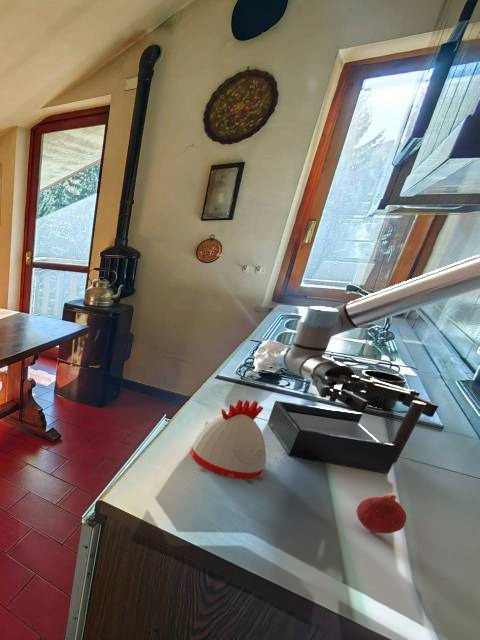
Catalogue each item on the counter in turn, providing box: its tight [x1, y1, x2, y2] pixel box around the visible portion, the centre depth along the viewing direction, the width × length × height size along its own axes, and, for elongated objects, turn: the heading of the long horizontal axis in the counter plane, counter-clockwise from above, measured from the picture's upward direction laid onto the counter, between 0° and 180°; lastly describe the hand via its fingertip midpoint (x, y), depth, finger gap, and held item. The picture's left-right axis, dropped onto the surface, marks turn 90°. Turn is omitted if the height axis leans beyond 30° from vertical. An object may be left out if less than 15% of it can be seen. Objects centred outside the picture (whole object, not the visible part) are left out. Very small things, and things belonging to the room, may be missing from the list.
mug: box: [352, 369, 408, 410], centre depth 115 cm, size 9×12×9 cm
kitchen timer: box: [190, 399, 267, 480], centre depth 85 cm, size 14×14×15 cm
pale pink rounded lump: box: [252, 339, 289, 373], centre depth 143 cm, size 10×14×12 cm
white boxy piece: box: [288, 401, 426, 464], centre depth 90 cm, size 18×15×15 cm
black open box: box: [267, 400, 402, 475], centre depth 93 cm, size 18×17×7 cm
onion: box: [355, 492, 407, 534], centre depth 66 cm, size 6×6×8 cm
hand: (398, 409), depth 84 cm, fingers open, 13 cm apart
